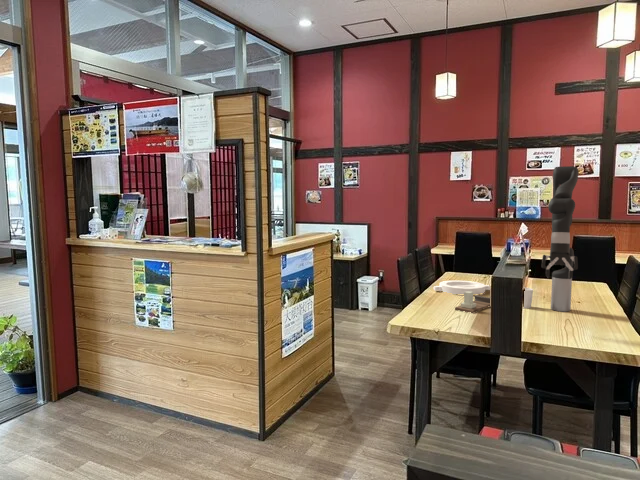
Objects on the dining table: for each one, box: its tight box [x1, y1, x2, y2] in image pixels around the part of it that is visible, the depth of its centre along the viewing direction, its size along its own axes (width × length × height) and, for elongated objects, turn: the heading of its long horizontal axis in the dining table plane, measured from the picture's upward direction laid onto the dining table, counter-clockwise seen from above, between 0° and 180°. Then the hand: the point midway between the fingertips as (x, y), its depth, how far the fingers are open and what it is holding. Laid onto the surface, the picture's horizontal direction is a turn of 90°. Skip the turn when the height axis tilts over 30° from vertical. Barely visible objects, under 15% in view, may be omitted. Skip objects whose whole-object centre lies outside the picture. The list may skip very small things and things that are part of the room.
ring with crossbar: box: [433, 279, 491, 295], centre depth 284 cm, size 28×28×5 cm
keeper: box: [460, 291, 476, 309], centre depth 235 cm, size 5×6×8 cm
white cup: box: [523, 287, 534, 309], centre depth 241 cm, size 8×8×10 cm
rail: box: [454, 295, 491, 314], centre depth 240 cm, size 24×10×4 cm, turn 134°
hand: (558, 278), depth 200 cm, fingers open, 8 cm apart
